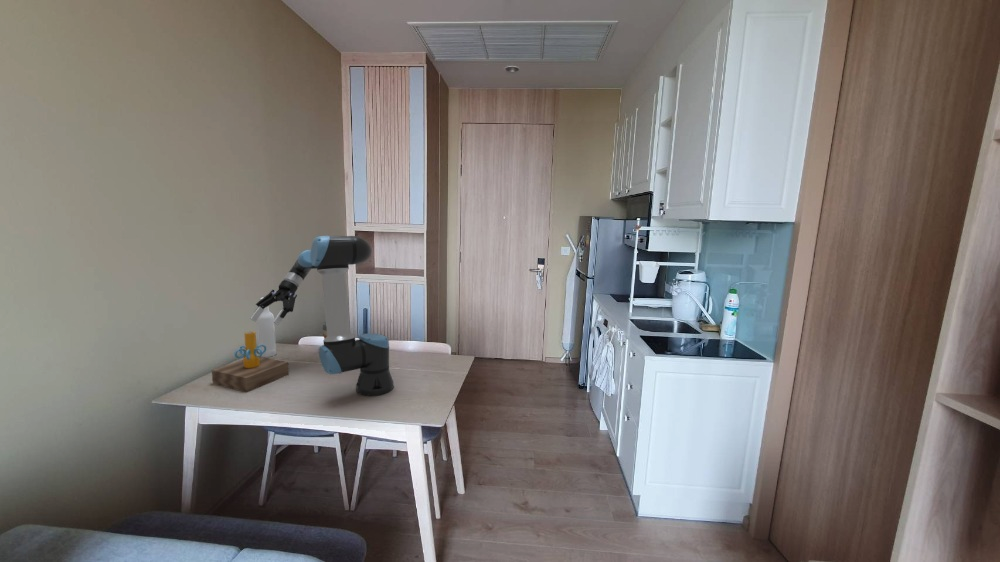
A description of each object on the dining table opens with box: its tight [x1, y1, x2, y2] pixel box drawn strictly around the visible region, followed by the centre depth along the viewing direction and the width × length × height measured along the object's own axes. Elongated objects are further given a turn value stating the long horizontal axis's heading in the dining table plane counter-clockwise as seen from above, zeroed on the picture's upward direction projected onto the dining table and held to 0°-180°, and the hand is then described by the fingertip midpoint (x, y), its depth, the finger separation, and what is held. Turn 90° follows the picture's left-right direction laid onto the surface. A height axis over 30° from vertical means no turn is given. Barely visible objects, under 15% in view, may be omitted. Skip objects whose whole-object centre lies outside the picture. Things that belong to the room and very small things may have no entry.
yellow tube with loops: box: [234, 330, 266, 368], centre depth 170 cm, size 12×10×15 cm
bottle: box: [256, 296, 277, 358], centre depth 200 cm, size 8×8×30 cm
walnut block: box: [211, 357, 290, 393], centre depth 171 cm, size 20×20×6 cm
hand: (264, 321), depth 175 cm, fingers open, 13 cm apart
